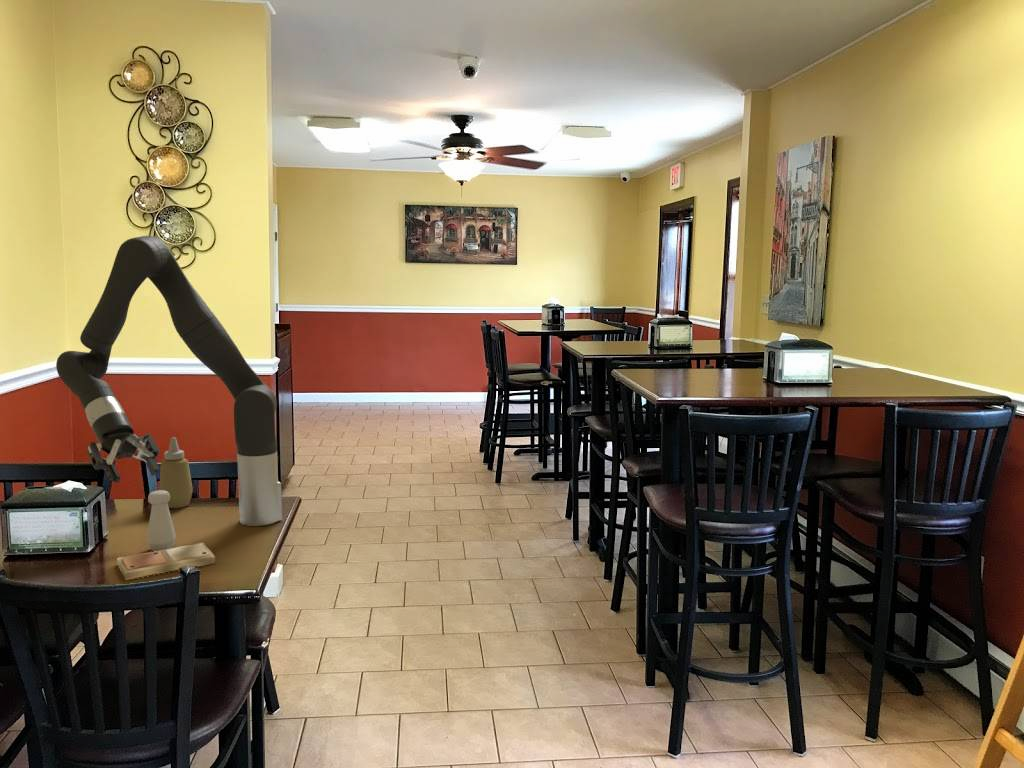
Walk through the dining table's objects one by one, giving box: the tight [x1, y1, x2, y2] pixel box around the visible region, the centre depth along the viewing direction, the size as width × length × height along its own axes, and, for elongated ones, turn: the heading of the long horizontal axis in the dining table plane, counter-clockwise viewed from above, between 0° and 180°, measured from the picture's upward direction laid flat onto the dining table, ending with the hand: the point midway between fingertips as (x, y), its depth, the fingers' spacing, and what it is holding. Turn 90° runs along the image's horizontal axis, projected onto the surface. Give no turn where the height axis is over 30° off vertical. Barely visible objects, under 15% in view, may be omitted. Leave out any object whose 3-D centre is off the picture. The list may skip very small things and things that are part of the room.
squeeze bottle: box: [158, 437, 194, 509], centre depth 201 cm, size 8×8×18 cm
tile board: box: [116, 542, 216, 579], centre depth 162 cm, size 17×10×2 cm, turn 125°
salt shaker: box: [146, 489, 177, 552], centre depth 170 cm, size 6×6×13 cm
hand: (136, 477), depth 174 cm, fingers open, 8 cm apart
